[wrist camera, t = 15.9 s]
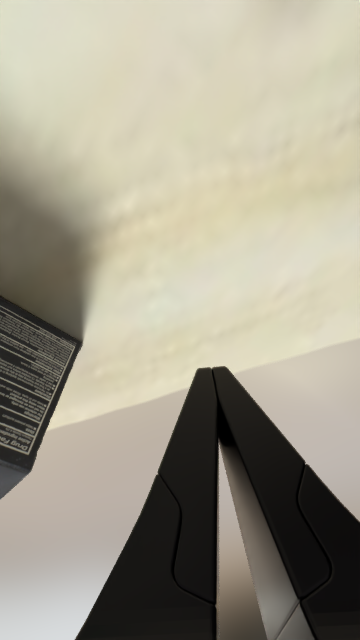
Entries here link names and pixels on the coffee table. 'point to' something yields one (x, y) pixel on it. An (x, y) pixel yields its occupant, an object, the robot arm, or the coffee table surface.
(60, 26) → the coffee table surface
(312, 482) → the robot arm
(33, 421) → the small box
